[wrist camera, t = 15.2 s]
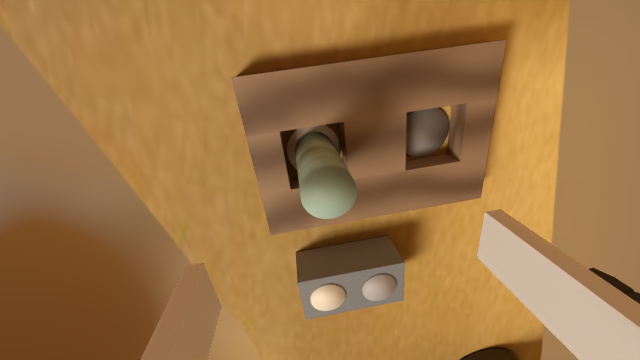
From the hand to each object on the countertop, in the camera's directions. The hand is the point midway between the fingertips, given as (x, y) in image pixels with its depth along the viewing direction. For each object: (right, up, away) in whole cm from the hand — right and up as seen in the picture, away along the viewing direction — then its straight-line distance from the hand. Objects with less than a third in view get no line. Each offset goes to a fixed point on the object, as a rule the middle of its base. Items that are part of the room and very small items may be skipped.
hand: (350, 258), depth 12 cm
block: (+2, -7, +22) cm, 23 cm away
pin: (-2, +7, +15) cm, 17 cm away
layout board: (+4, +8, +15) cm, 18 cm away
